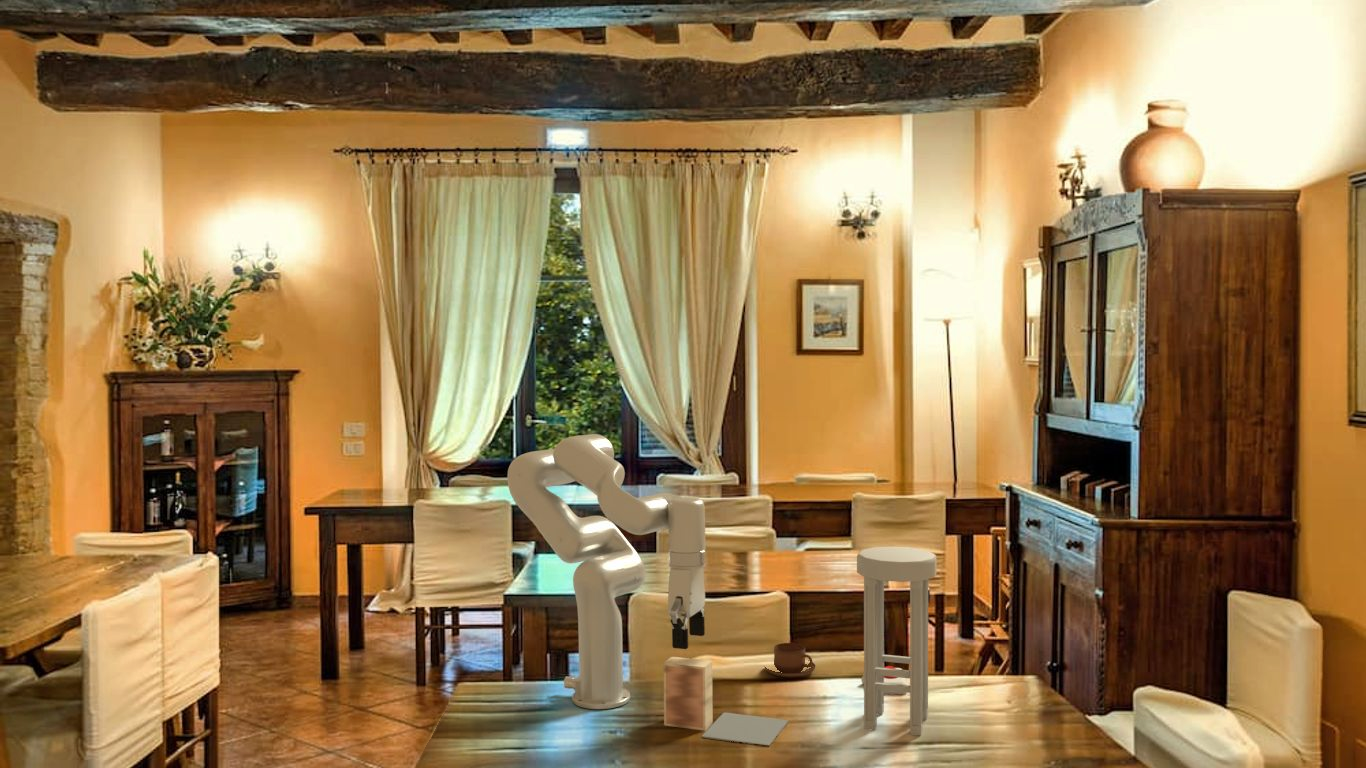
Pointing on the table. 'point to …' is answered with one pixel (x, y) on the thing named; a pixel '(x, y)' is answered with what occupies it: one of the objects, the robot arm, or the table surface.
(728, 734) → the mat
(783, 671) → the cup and saucer
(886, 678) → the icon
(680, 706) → the slab
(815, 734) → the table surface
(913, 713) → the stool
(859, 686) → the table surface
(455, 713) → the table surface
